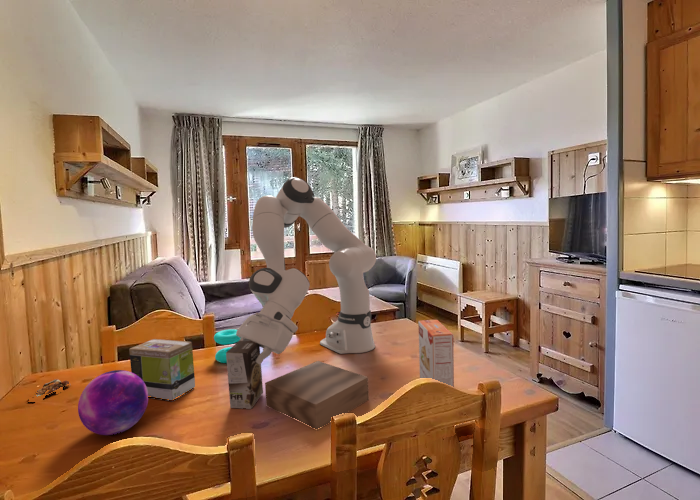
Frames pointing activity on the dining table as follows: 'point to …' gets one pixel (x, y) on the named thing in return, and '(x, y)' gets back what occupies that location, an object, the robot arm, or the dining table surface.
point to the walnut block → (316, 393)
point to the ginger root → (51, 387)
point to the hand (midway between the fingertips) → (246, 358)
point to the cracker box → (436, 352)
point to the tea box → (164, 367)
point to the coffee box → (244, 374)
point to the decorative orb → (113, 402)
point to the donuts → (225, 343)
